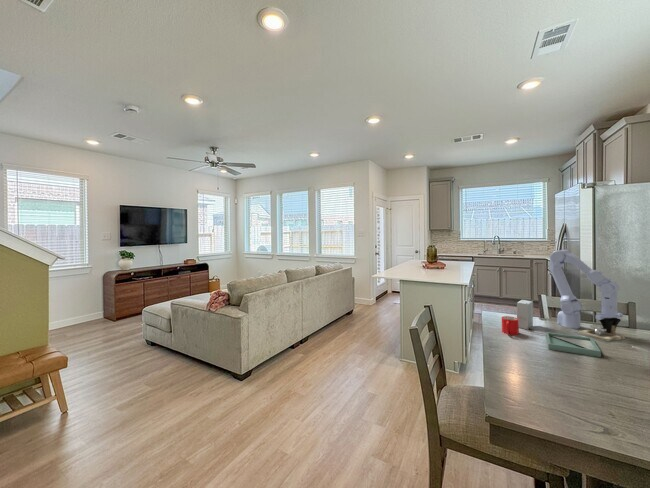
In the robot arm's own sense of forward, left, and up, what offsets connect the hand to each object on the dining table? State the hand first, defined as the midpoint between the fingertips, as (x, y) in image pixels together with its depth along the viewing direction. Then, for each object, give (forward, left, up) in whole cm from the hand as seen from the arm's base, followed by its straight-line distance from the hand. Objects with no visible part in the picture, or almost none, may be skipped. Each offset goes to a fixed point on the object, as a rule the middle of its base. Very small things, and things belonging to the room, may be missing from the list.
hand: (609, 332), depth 145 cm
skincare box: (-25, -24, -3) cm, 35 cm away
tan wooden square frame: (0, -5, -1) cm, 6 cm away
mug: (-19, -40, -3) cm, 45 cm away
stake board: (0, -5, -3) cm, 6 cm away
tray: (+3, -27, -3) cm, 28 cm away
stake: (0, -7, -1) cm, 7 cm away
